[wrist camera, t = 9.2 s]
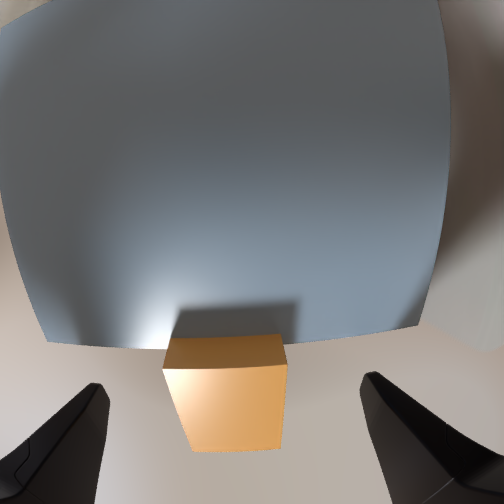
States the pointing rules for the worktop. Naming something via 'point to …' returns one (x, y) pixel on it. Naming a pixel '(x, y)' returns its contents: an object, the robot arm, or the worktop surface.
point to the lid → (225, 184)
